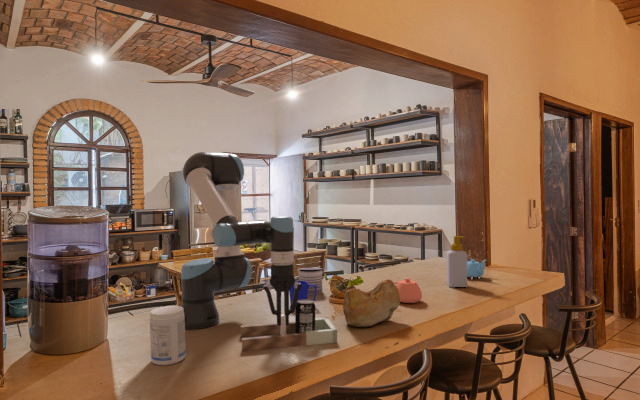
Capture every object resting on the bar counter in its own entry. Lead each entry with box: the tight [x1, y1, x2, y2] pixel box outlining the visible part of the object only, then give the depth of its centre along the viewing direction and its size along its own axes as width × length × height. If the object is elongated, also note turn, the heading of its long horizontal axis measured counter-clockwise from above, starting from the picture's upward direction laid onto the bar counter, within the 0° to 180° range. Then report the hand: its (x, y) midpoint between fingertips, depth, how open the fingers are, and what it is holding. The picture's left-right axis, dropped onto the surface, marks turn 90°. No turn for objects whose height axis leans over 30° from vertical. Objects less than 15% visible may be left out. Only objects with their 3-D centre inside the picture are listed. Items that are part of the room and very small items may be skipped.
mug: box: [289, 280, 317, 304], centre depth 180 cm, size 8×12×10 cm
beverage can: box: [294, 298, 316, 334], centre depth 141 cm, size 7×7×12 cm
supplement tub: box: [149, 305, 187, 366], centre depth 124 cm, size 10×10×15 cm
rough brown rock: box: [342, 279, 401, 328], centre depth 160 cm, size 23×17×15 cm
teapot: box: [467, 259, 487, 278], centre depth 234 cm, size 13×13×10 cm
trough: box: [240, 321, 308, 352], centre depth 139 cm, size 20×14×4 cm
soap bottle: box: [446, 235, 468, 288], centre depth 214 cm, size 9×9×25 cm
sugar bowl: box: [393, 277, 423, 304], centre depth 186 cm, size 12×14×10 cm
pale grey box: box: [306, 317, 338, 346], centre depth 142 cm, size 10×14×4 cm
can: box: [298, 267, 323, 296], centre depth 206 cm, size 11×11×12 cm
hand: (282, 334), depth 140 cm, fingers closed
